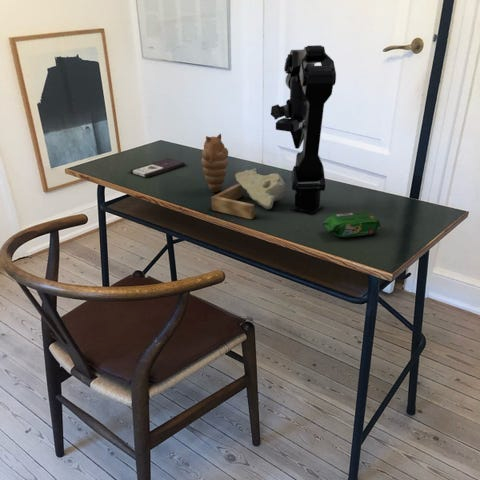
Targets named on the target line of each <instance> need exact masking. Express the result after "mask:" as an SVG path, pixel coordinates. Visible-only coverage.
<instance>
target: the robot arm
mask: <svg viewBox="0 0 480 480" xmlns="http://www.w3.org/2000/svg"><path fill="white" fill-rule="evenodd" d="M318 63H319V64H320V65H316V64H318ZM283 69H284V72H285V74H286V76H285V85H286V87H287V88H288V89H289V99H287V100H286V101H285V102H286V103H285V104H284V105H280V104H279V103H278V104H275V105H274V104H273V105H272V106H271V107H270V116H271V117H273V118H274V121H276V120H277V121H276V122H275V130H276V131H283V132H289V133H290V135H291V138H292V143H293V145H294V148H295V149H297V150H298V149H300V148H301V145H302V150H301V152H297V154H296V156H295V165H294V166H293V167H292V170H291V190H292V191H295V193H294V207H293V209H292V210H293V211H296V212H300V213H305V214H308V215H313V214H315V213H316V212H318V211H319V210H321V209H322V207H323V206H322V205H321V204H320V203H321V191H322V192H324V191H326V178H325V169H324V165H323V161H322V160H321V157H320V155H319V150H320V143H321V133H322V125H323V119H324V118H323V117H324V108H325V104H326V102H327V101H328V100H329V99H330V97H331V96H332V94H333V89H334V86H335V85H336V82H337V71H336V67H335V62H334V60H333V59H332V58H331V56H329V55H328V54H327V53H326V49H325V46H324V45H323V46H322V45H321V44H320V45H319V44H318V45H306V46H304V48H302V49H291V50H290V51H289V53H288V54H287V57H286V59H285V62H284V68H283Z"/></svg>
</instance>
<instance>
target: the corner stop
mask: <svg viewBox="0 0 480 480" xmlns="http://www.w3.org/2000/svg"><path fill="white" fill-rule="evenodd" d="M242 197H243V187H242V185H241V184H240V183H239V182H237V183H236V184H234V185H232V186H230V187H228V188H226V189H224V190H222V191H219V193H218V192H217V194H215V195H213V196H211V197H210V198H211V199H210V200H211V211H214V212H218V213H222V214H228V215H231V216H235V217H239V218H244V219H248V220H253V219H254V218H255V204H253V203H248V202H244V201H239V199H240V198H242Z"/></svg>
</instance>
